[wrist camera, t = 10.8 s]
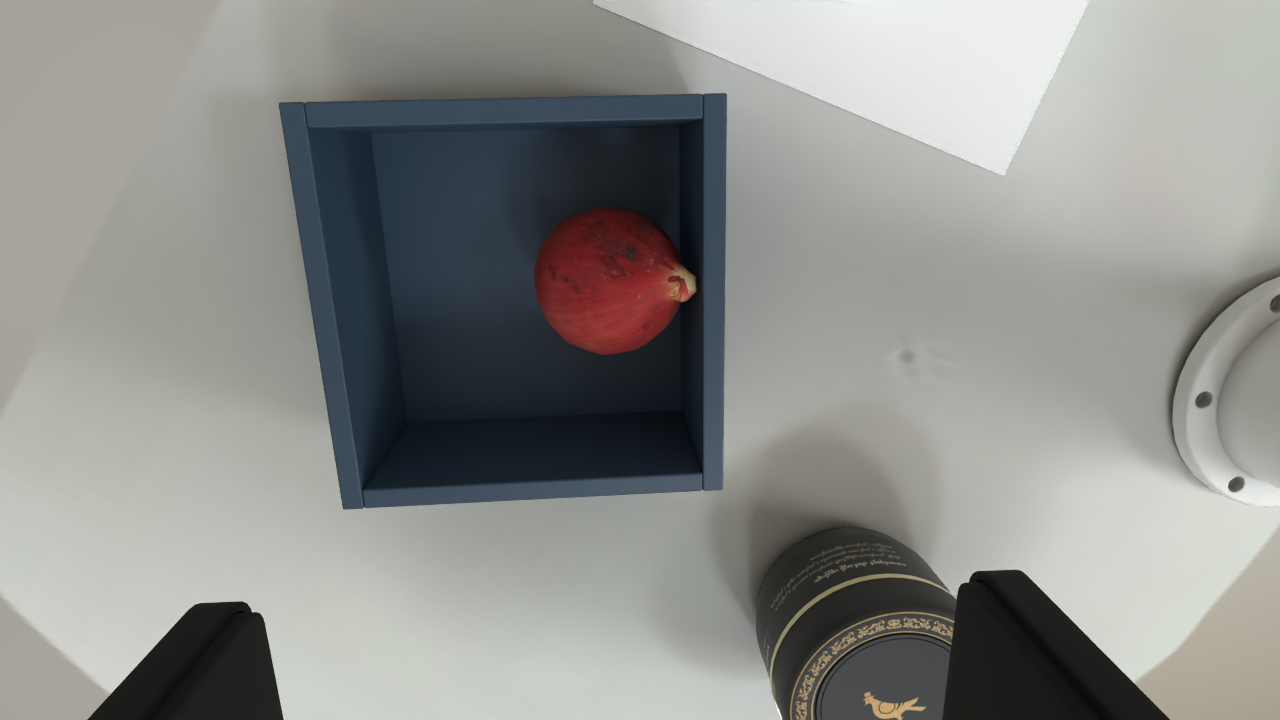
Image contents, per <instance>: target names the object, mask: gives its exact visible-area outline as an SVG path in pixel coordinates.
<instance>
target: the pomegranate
mask: <svg viewBox="0 0 1280 720" xmlns="http://www.w3.org/2000/svg"><path fill="white" fill-rule="evenodd" d="M534 280H535V288H536V296H537V299H538V302H539V304H540V306H541V309H542V311H543V313H544V316H545V318H546V319H547V321H548V322H549V323H550V325H551V326H552V327H553V328H554V329H555V330H556V331H557V332H558V333H559V334H560V335H561V336H562V337H563V338H564V340H565V341H566V342H568V343H570V344H573V345H575V346H578V347H580V348H583V349H585V350H588V351H591V352H594V353H597V354H601V355H603V354H616V353H621V352H626V351H631V350H636V349H638V348H639V347H641V346H643V345H645V344H647V343H648V342H649V341H650V340H652V339H653V338H654V337H655V336H657V335H658V334H659V333H660V332H661V331H663V330H664V329H665V328H666V327H667V326H668V324H669V323H670V322H671V320H672V318H673V317H674V315H675V313H676V311H677V310H678V308H679V306H680V303H681V302H684V301H688V299H689V298H690V297H691V296H692V295H693V294H694V293H695V292H696V284H695V281H696V277H695V276H694V275H693V274H692V273H691V272H689V271H688V270H687V269H686V268H685V267H684V266H683V264H682V260H681V256H680V254H679V252H678V250H677V249H676V247H675V245H674V244H673V242H672V240H671V239H670V237H669V236H668V235H667V234H666V232H665V231H664V230H662V229H661V228H660V227H658V226H657V225H655V224H654V223H653V222H651V221H650V220H649V219H647V218H646V217H644V216H643V215H641V214H638V213H636V212H633V211H629V210H622V209H616V208H603V207H596V208H594V209H591V210H588V211H585V212H582V213H579V214H577V215H574V216H572V217H569V218H567V219H564V220H562V221H561V222H560V223H559V224H558V225H557V227H556V228H555V229H554V230H553V231H552V233H551V234H550V235H549V236H548V238H547V239H546V240H545V242H544V243H543V244H542V245H541V247H540V248H539V251H538V256H537V260H536V265H535V269H534Z"/></svg>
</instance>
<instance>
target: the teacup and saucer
mask: <svg viewBox="0 0 1280 720" xmlns="http://www.w3.org/2000/svg"><path fill="white" fill-rule="evenodd" d="M825 1H826V2H833V3H851V2H858V1H859V0H825Z"/></svg>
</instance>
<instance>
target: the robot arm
mask: <svg viewBox="0 0 1280 720" xmlns="http://www.w3.org/2000/svg"><path fill="white" fill-rule="evenodd" d="M1172 424H1173V430H1174V437H1175V442H1176V445H1177V447H1178V450H1179V452H1180V455H1181V457H1182V460H1183V461H1184V462H1185V464H1186V465H1187V467H1188V468H1189V469H1190V471H1191V472H1192V473H1193V475H1194V476H1196V477H1197V478H1198V479H1199V480H1200V481H1202V482H1203V483H1204V484H1205V485H1206V486H1208V487H1209V488H1211V489H1213V490H1215V491H1216V492H1218V493H1220V494H1222V495H1224V496H1225V497H1227V498H1229V499H1232V500H1235V501H1238V502H1241V503H1243V504H1246V505H1253V506H1260V507H1280V276H1279V277H1277V278H1274V279H1272V280H1269V281H1267V282H1265V283H1262V284H1261V285H1259V286H1257V287H1256V288H1254V289H1253V290H1251V291H1249V292H1248V293H1246V294H1244V295H1243V296H1241V297H1240V298H1239V299H1237V300H1236V301H1235V302H1234V303H1233V304H1232V305H1230V306H1229V307H1228V308H1227V309H1226V310H1224V311H1223V312H1222V313H1221V314H1220V315H1219V316H1218V317H1217V318H1216V319H1215V320H1214V322H1213V323H1212V324H1211V325H1210V326H1209V327H1208V328H1207V330H1206V331H1205V332H1204V333H1203V334H1202V336H1201V337H1200V339H1199V340H1198V342H1197V343H1196V345H1195V347H1194V348H1193V350H1192V351H1191V353H1190V354H1189V356H1188V358H1187V361H1186V363H1185V365H1184V367H1183V370H1182V372H1181V374H1180V377H1179V380H1178V384H1177V388H1176V392H1175V396H1174V400H1173V416H1172ZM88 720H283V715H282V710H281V705H280V699H279V694H278V689H277V684H276V679H275V674H274V669H273V663H272V658H271V653H270V648H269V643H268V638H267V633H266V628H265V623H264V619H263V617H262V616H261V614H260V613H257V612H254V613H252V611H251V608H250V607H249V606H248V604H247V603H244V602H219V603H200V604H196V605H194V606H193V607H192V608H190V609H189V610H188V611H187V612H186V613H185V614H184V615H183V617H182V618H181V619H180V620H179V621H178V622H177V623H176V624H175V625H174V626H173V627H172V628H171V630H170V631H169V632H168V633H167V634H166V635H165V636H164V637H163V638H162V639H161V640H160V641H159V643H158V644H157V645H156V646H155V647H154V648H153V649H152V650H151V651H150V652H149V653H148V655H147V656H146V657H145V658H144V659H143V660H142V661H141V662H140V663H139V664H138V665H137V666H136V668H135V669H134V670H133V671H132V672H131V673H130V674H129V675H128V676H127V677H126V678H125V679H124V681H123V682H122V683H121V684H120V685H119V686H118V687H117V688H116V689H115V690H114V691H113V692H112V694H111V695H110V696H109V697H108V698H107V699H106V700H105V701H104V702H103V703H102V704H101V706H100V707H99V708H98V709H97V710H96V711H95V712H94V713H93V714H92V715H91V717H90V718H89V719H88ZM942 720H1170V719H1169V718H1168V717H1167V716H1166V715H1165V714H1164V713H1163V712H1162V711H1161V710H1160V709H1159V708H1158V707H1157V706H1156V705H1155V704H1154V703H1153V702H1152V701H1151V700H1150V699H1149V698H1148V697H1147V696H1146V695H1145V694H1144V693H1143V692H1142V691H1141V690H1140V689H1139V688H1138V687H1137V686H1136V685H1135V684H1134V683H1133V682H1132V681H1131V680H1130V679H1129V678H1128V677H1127V676H1126V675H1125V674H1124V673H1123V672H1122V671H1121V670H1120V669H1119V668H1118V667H1117V666H1116V665H1115V664H1114V663H1113V662H1112V661H1111V660H1110V659H1109V658H1108V657H1107V656H1106V655H1105V654H1104V653H1103V652H1102V651H1101V650H1100V649H1099V648H1098V647H1097V646H1096V645H1095V644H1094V643H1093V642H1092V641H1091V640H1090V639H1089V638H1088V637H1087V636H1086V635H1085V634H1084V632H1083V631H1082V630H1081V629H1080V628H1079V627H1078V626H1077V625H1076V624H1075V623H1074V622H1073V621H1072V620H1071V619H1070V618H1069V617H1068V616H1067V615H1066V614H1065V613H1064V612H1063V611H1062V610H1061V609H1060V608H1059V607H1058V606H1057V605H1056V604H1055V603H1054V602H1053V601H1052V600H1051V599H1050V598H1049V597H1048V596H1047V595H1046V594H1045V593H1044V592H1043V591H1042V590H1041V589H1040V588H1039V587H1038V586H1037V585H1036V584H1035V583H1034V582H1033V581H1032V580H1031V579H1030V578H1029V577H1028V576H1027V575H1026V574H1024V573H1023V572H1022V571H1019V570H997V571H977V572H975V573H973V574H972V576H971V578H970V580H969V583H963V584H961V585H960V587H959V590H958V595H957V603H956V611H955V619H954V627H953V635H952V644H951V652H950V660H949V668H948V676H947V684H946V693H945V701H944V709H943V717H942Z"/></svg>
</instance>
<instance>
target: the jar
mask: <svg viewBox="0 0 1280 720" xmlns="http://www.w3.org/2000/svg"><path fill="white" fill-rule="evenodd" d="M956 603H957V598H956V597H955V596H954V595H953V594H951V592H950V591H949V590H948V589H947V588H946V586H945V585H944V584H943V583H942V581H941V580H940V579H939V578H938V576H937V575H936V574H935V573H934V572H933V570H932V569H931V568H930V567H929V566H928V564H927V563H926V562H925V561H924V560H923V559H922V558H921V557H920V556H919V555H917V554H916V553H915V552H914V551H912V550H911V549H910V548H908V547H906V546H905V545H903V544H902V543H900V542H898V541H896V540H895V539H893V538H891V537H889V536H887V535H885V534H882V533H880V532H877V531H873V530H869V529H864V528H838V529H832V530H827V531H823V532H820V533H817V534H815V535H812V536H810V537H808V538H806V539H804V540H802V541H800V542H799V543H797V544H795V545H794V546H793V547H791V548H790V549H789V550H787V551H786V552H785V553H784V554H783V555H782V556H781V557H780V558H779V559H778V560H777V561H776V562H775V563H774V565H773V566H772V567H771V569H770V570H769V572H768V573H767V575H766V577H765V579H764V581H763V583H762V586H761V589H760V592H759V596H758V602H757V614H756V631H757V639H758V644H759V648H760V651H761V654H762V657H763V660H764V663H765V666H766V669H767V672H768V675H769V678H770V685H771V692H772V695H773V698H774V702H775V705H776V708H777V710H778V712H779V714H780V716H781V718H782V720H942V717H943V709H944V701H945V693H946V684H947V676H948V668H949V660H950V652H951V644H952V635H953V627H954V619H955V611H956Z"/></svg>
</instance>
